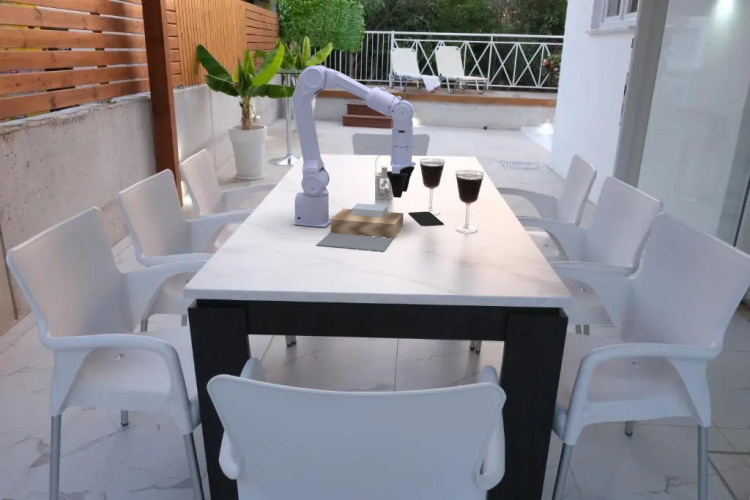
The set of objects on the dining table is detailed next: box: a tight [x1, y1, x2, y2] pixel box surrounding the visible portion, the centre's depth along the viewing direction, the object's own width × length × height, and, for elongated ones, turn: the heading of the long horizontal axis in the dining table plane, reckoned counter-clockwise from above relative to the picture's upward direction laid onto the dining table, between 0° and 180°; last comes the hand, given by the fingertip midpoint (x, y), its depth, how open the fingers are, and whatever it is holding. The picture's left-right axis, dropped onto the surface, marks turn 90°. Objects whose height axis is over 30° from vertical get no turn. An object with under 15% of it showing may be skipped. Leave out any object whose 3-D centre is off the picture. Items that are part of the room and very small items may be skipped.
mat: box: [315, 232, 394, 253], centre depth 155 cm, size 18×11×1 cm, turn 76°
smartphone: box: [408, 211, 445, 227], centre depth 179 cm, size 7×1×15 cm
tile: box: [351, 202, 389, 218], centre depth 168 cm, size 9×6×2 cm, turn 76°
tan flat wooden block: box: [330, 208, 404, 239], centre depth 166 cm, size 18×12×4 cm, turn 76°
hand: (400, 194), depth 167 cm, fingers open, 7 cm apart
